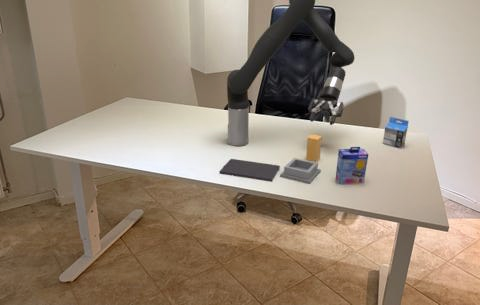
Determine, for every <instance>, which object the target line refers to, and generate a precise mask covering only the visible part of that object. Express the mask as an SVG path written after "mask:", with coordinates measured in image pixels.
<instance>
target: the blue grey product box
mask: <svg viewBox="0 0 480 305" xmlns="http://www.w3.org/2000/svg"><path fill="white" fill-rule="evenodd" d="M408 128H409V120H406V119H401V118H396V117H393V116H390V117H389V121H388V123H387V124H386V125H385V127H384V132H383V139H382V144H383V145H386V146H390V147H393V148H398V149H403V148H404V147H405V144H406V139H407V138H406V137H407V132H408Z"/></svg>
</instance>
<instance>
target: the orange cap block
mask: <svg viewBox="0 0 480 305" xmlns="http://www.w3.org/2000/svg"><path fill="white" fill-rule="evenodd" d="M322 138H323V136H322V135H316V134H312V133H311V134H310V135H309V136H308V137H307V141H306V154H305V160H307V161H311V162H316V163H318V161H320V159H321V149H322V141H323V140H322Z"/></svg>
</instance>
